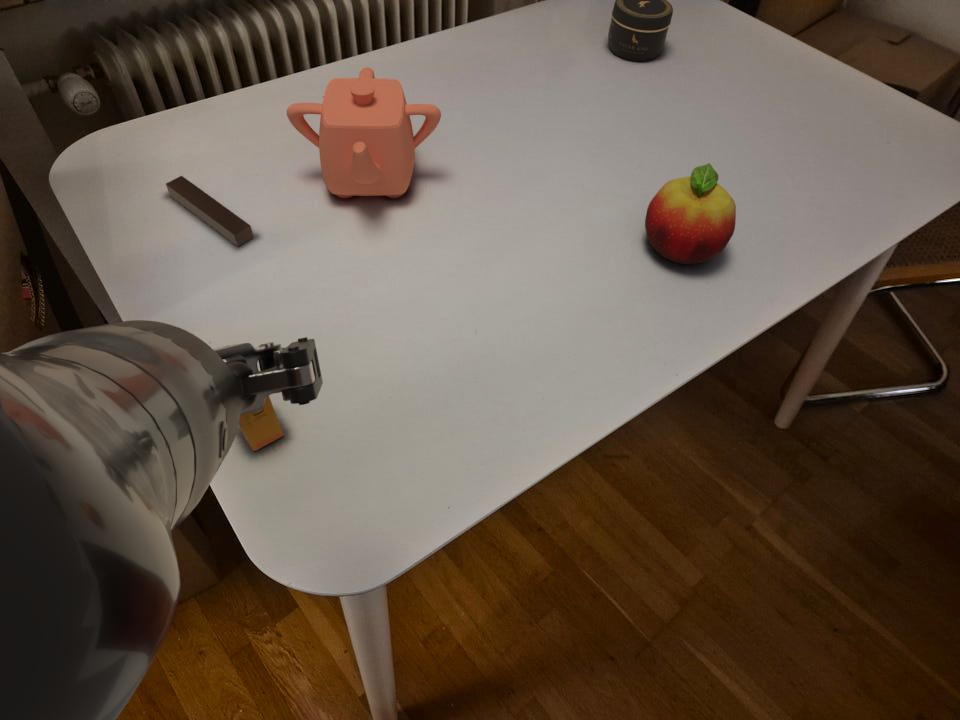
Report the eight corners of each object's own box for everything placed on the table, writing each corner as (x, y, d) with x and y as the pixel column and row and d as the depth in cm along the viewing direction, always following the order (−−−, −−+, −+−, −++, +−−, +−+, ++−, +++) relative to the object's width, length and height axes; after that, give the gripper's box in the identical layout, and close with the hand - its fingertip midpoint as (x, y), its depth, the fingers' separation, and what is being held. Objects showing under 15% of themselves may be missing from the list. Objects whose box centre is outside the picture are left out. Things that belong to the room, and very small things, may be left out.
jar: (602, 58, 115) (611, 12, 109) (608, 31, 121) (617, -14, 115) (660, 67, 114) (673, 22, 108) (663, 40, 120) (675, -4, 114)
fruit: (627, 260, 84) (647, 195, 76) (649, 210, 90) (670, 146, 82) (711, 288, 81) (741, 225, 73) (728, 235, 88) (757, 172, 80)
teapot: (369, 130, 98) (361, 41, 87) (452, 175, 92) (454, 86, 82) (281, 183, 89) (261, 92, 79) (367, 236, 84) (357, 145, 73)
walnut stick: (238, 247, 81) (234, 234, 80) (170, 196, 86) (165, 183, 85) (254, 237, 82) (250, 225, 81) (186, 187, 87) (181, 175, 86)
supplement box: (269, 412, 67) (247, 350, 59) (284, 437, 65) (264, 376, 57) (237, 428, 66) (211, 367, 58) (252, 453, 64) (227, 394, 56)
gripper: (297, 293, 24) (307, 291, 40) (-152, 365, 21) (48, 332, 37) (335, 487, 26) (330, 411, 41) (-87, 582, 23) (80, 460, 38)
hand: (196, 373), depth 39 cm, fingers open, 8 cm apart
